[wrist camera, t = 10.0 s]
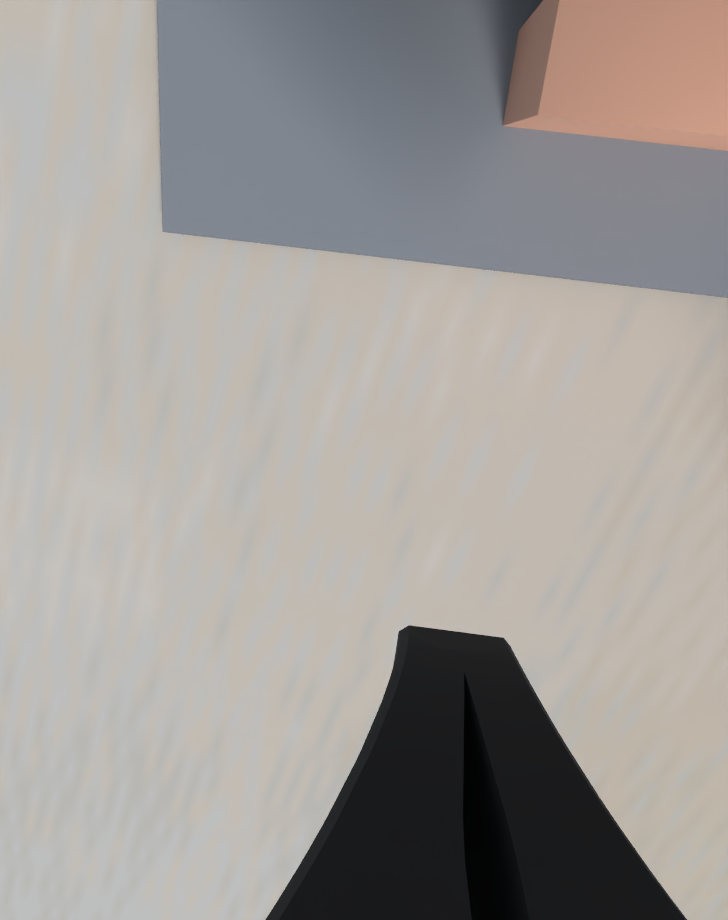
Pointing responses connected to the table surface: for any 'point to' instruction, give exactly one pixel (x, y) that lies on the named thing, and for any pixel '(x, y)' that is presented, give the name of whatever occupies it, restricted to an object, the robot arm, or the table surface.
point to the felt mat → (414, 147)
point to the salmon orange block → (624, 71)
